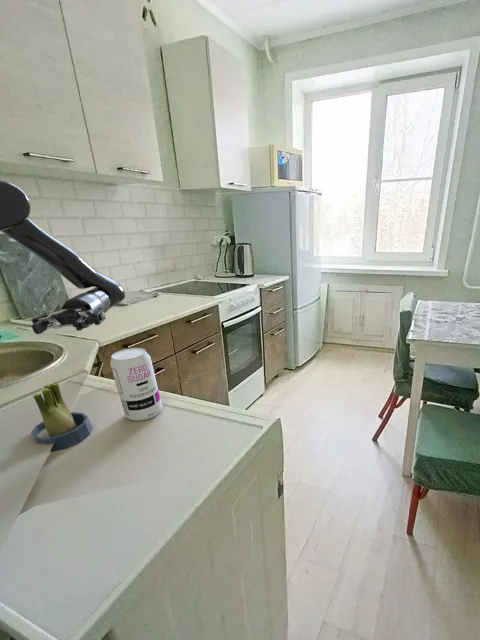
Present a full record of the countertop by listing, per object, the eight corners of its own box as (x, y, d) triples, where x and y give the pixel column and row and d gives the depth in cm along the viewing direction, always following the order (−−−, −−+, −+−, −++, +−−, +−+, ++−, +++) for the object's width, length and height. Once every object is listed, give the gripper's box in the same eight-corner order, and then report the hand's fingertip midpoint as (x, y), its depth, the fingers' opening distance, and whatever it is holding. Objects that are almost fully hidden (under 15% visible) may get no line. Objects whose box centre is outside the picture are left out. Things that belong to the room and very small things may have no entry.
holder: (29, 455, 70) (24, 443, 68) (45, 429, 78) (40, 417, 77) (86, 444, 72) (81, 432, 71) (94, 420, 81) (91, 408, 80)
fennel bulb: (55, 447, 72) (33, 395, 67) (45, 439, 75) (24, 389, 69) (83, 433, 76) (65, 383, 71) (73, 426, 79) (55, 378, 73)
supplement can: (142, 402, 88) (127, 345, 81) (169, 406, 85) (156, 348, 78) (118, 419, 81) (99, 358, 74) (147, 424, 78) (130, 362, 71)
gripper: (50, 297, 88) (14, 313, 74) (109, 292, 90) (85, 308, 75) (60, 326, 92) (28, 347, 77) (117, 321, 93) (95, 341, 79)
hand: (56, 328), depth 76 cm, fingers open, 8 cm apart
